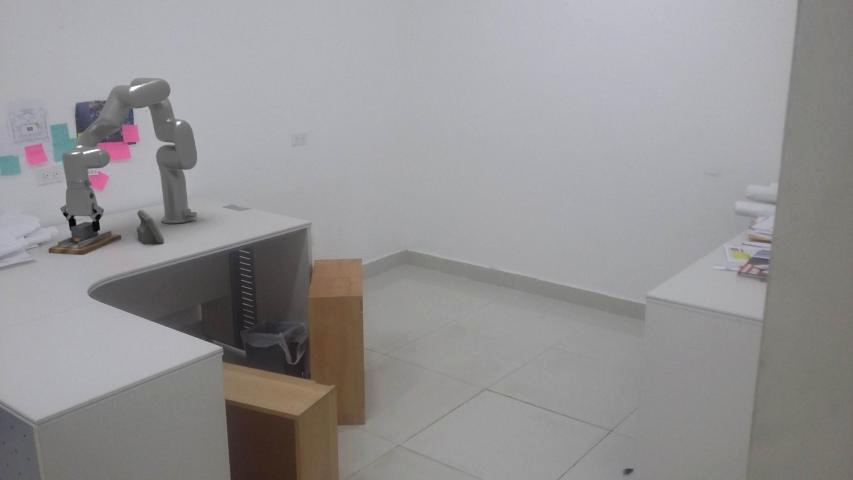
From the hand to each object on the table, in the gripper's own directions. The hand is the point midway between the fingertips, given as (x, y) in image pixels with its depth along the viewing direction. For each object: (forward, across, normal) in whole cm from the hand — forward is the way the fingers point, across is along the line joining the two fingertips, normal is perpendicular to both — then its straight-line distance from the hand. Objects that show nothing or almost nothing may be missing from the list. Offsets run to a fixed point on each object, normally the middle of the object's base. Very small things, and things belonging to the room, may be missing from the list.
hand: (85, 230), depth 270 cm
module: (+4, 0, 0) cm, 4 cm away
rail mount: (+6, 0, 0) cm, 6 cm away
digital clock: (+6, -20, -11) cm, 23 cm away
